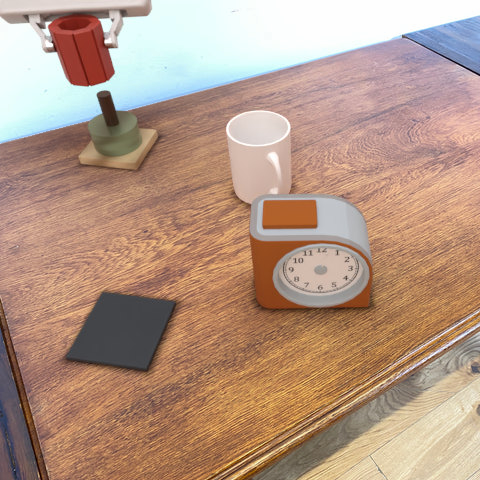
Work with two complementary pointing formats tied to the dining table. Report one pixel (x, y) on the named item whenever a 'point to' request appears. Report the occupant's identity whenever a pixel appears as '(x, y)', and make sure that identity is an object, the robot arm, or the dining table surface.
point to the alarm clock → (309, 252)
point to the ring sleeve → (82, 49)
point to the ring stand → (116, 138)
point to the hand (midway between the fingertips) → (81, 49)
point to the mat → (122, 331)
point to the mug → (259, 154)
